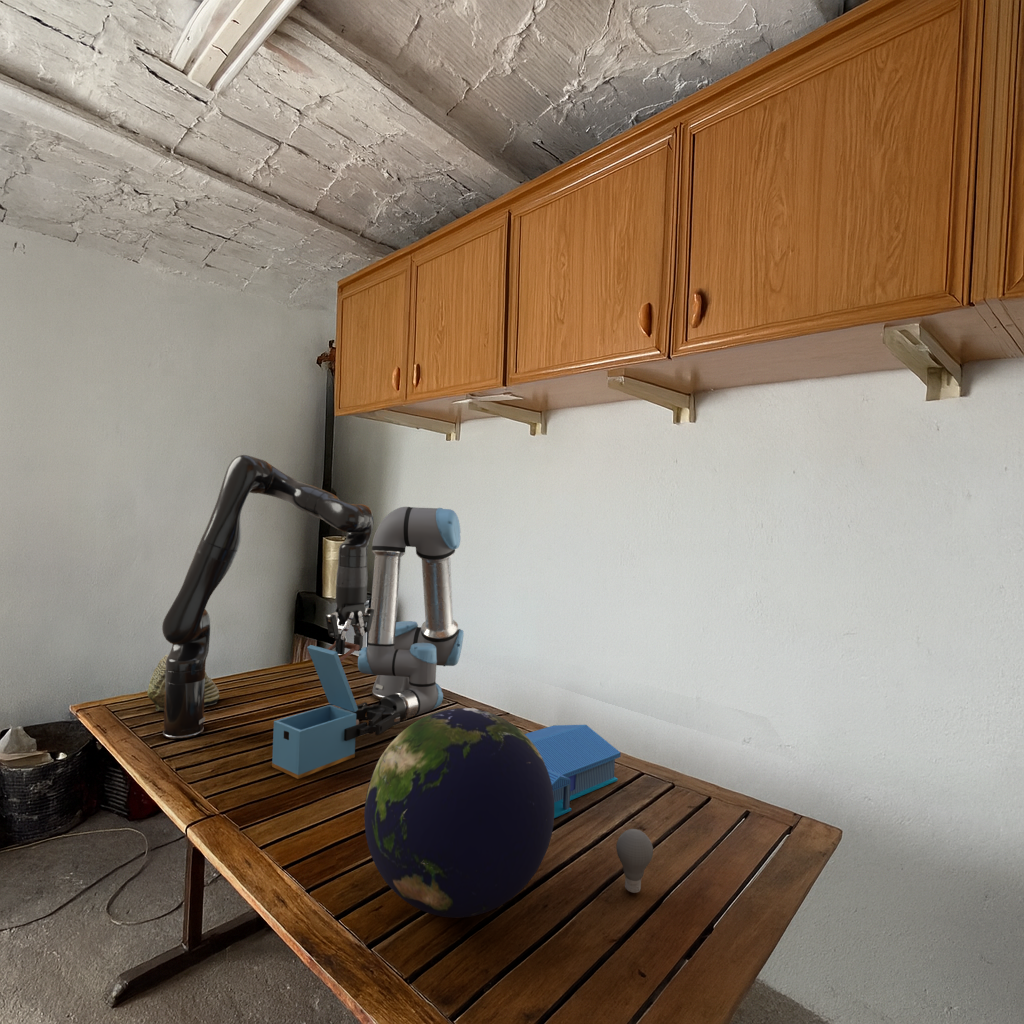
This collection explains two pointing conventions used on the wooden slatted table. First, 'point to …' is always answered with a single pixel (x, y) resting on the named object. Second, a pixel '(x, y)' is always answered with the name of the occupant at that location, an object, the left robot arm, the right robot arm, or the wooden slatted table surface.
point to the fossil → (158, 687)
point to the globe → (459, 812)
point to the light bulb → (634, 857)
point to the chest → (312, 741)
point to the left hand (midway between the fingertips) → (349, 651)
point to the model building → (574, 761)
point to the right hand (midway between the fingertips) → (331, 729)
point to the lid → (334, 675)
